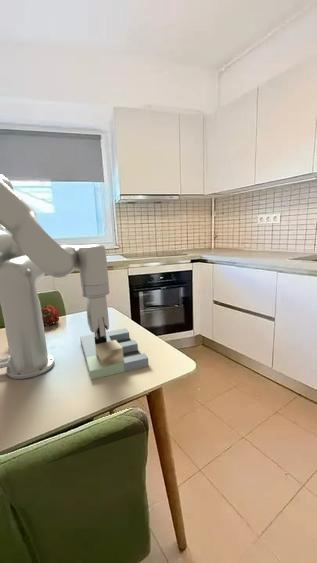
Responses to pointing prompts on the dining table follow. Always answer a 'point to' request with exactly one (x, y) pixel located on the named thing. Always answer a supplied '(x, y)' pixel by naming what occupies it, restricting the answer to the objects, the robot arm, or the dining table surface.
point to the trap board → (130, 363)
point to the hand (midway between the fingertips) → (101, 349)
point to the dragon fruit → (50, 314)
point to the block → (109, 353)
